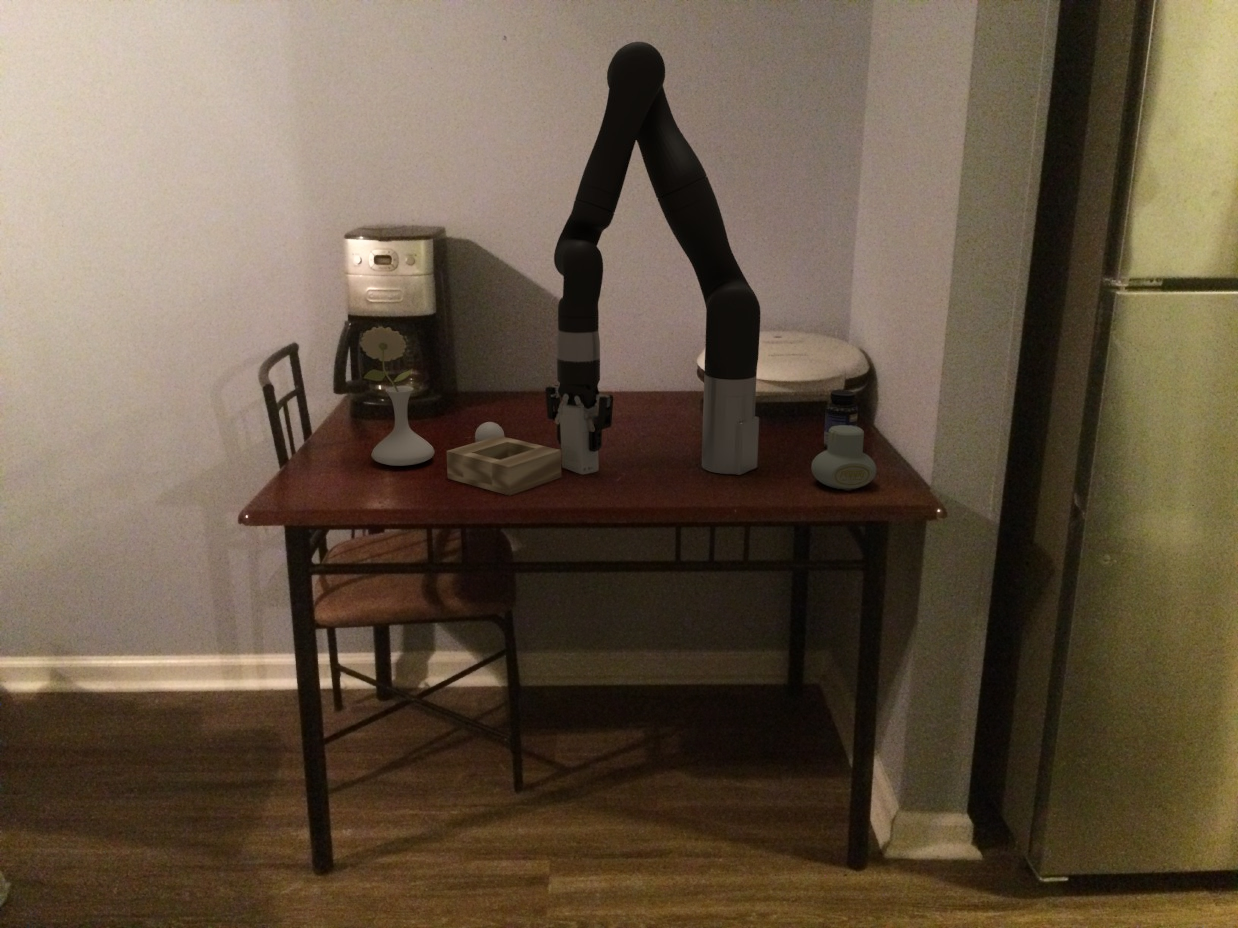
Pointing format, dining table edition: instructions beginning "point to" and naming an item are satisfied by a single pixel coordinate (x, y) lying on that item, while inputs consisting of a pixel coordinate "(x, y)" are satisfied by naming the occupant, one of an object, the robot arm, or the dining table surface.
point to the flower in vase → (394, 402)
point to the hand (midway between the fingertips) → (579, 447)
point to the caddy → (504, 465)
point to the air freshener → (844, 460)
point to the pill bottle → (840, 411)
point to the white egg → (488, 431)
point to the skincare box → (577, 441)
